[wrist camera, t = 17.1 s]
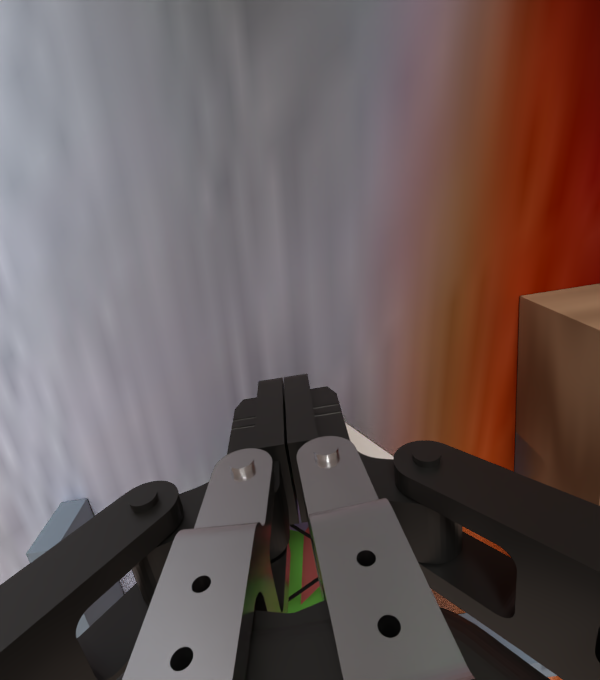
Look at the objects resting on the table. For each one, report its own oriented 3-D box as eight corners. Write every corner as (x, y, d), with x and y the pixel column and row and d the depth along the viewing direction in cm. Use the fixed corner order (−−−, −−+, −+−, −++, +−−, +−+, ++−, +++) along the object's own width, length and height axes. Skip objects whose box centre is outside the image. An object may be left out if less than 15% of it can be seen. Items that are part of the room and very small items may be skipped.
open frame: (61, 502, 17) (25, 554, 14) (540, 427, 17) (584, 466, 14) (135, 680, 20) (116, 744, 18) (530, 617, 20) (564, 674, 18)
